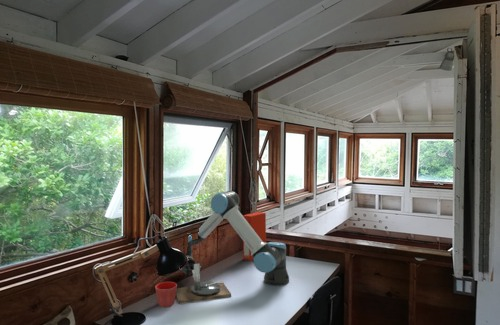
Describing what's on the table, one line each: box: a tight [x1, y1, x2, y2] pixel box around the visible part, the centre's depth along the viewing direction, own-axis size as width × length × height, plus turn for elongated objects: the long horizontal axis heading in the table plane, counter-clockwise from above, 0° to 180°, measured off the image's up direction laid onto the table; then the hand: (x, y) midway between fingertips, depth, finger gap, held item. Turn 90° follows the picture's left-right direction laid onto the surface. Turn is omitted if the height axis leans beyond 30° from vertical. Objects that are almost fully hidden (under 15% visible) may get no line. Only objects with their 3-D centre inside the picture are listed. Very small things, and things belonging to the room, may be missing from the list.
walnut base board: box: [175, 282, 232, 305], centre depth 202 cm, size 28×18×2 cm, turn 108°
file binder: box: [242, 211, 267, 262], centre depth 269 cm, size 8×17×32 cm, turn 140°
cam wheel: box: [190, 262, 222, 296], centre depth 203 cm, size 18×16×16 cm
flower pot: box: [155, 281, 178, 308], centre depth 189 cm, size 11×11×10 cm
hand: (195, 276), depth 201 cm, fingers closed
